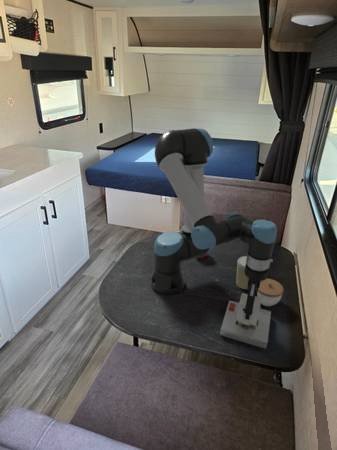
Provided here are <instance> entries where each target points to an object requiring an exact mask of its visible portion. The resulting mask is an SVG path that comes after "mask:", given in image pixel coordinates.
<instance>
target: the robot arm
mask: <svg viewBox="0 0 337 450" xmlns="http://www.w3.org/2000/svg"><path fill="white" fill-rule="evenodd" d="M213 142H214V141H213V139H212V136H211V134H209V132H208V131H207V130H206V129H205V128H204V129H203V128H196V127H195V128H185V129H172V130H167V131H165V132H164V133H162V134H161V135H160V136H159V138H158V139H157V141H156V143H155V147H154V158H155V162H156V165H157V167H158V168H159V171H161V172H163V173H164V174H165V175H166V178H167V180H168V181H169V183H170V186H171V187H172V189H173V191H174V193H175V195H176V196H177V198H178V201H179V202H180V205H181V206H182V207H183V212H184V215H183V217H184V224H183V226H182V227H181V233H180V232H176V231H165V232H164V233H161V234H159V235H158V236H157V237H156V239H155V241H154V248H153V252H154V259H153V261H154V267H153V268H154V269H153V271H152V274H151V276H150V288H152V289H153V290H154V291H155V292H156V293H159V294H163V295H174V294H178V293H179V292H181V291H183V289H184V287H185V282H186V281H185V280H186V279H185V276H184V273H183V270H182V265H183V263H184V262H188V261H190V260H194V259H197V258H198V259H199V257H202V256H205V255H206V254H208V255H209V254H210V253H211V252H213V250H214V248H215V247H216V246H217V247H218V246H220V245H222V244H226V243H230V242H233V241H237V240H239V241H241V242H243V243H245V244H246V245H248V249H247V253H246V256H247V259H246V266H245V271H244V272H245V275H246V276H247V277H248V278H249V280H248V289H246V294H248V296H247V301H246V306H245V309H244V308H243V310H242V311H244V315H243V321H242V324H245V325H249V326H250V322H251V317H252V312H253V305H254V300H255V296H256V297H257V293H258V288H259V287H260V281H263V280H265V279H266V278H267V279H268V274H269V272H270V271H269V270H270V265H271V263H273V260H274V259H272V256H273V249H274V247H275V243H276V240H277V234H278V233H277V232H278V227H277V225H276V224H275V222H273V221H270V220H267V219H256V220H252V219H250V218H249V217H247V216H245V215H244V214H242V213H239V212H237V211H231V212H229V213H228V214H227V215H225V216H224V218H223V219H221V220H218V221H217V219H216V218H215V216H214V214H213V213H212V211H211V209H210V208H209V205H208V203H207V202H206V200H205V178H204V174H205V173H204V167H206V165H207V164H208V158H209V157H211V155H212V153H213V151H214V143H213ZM249 287H250V288H249ZM256 289H257V290H256Z"/></svg>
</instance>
